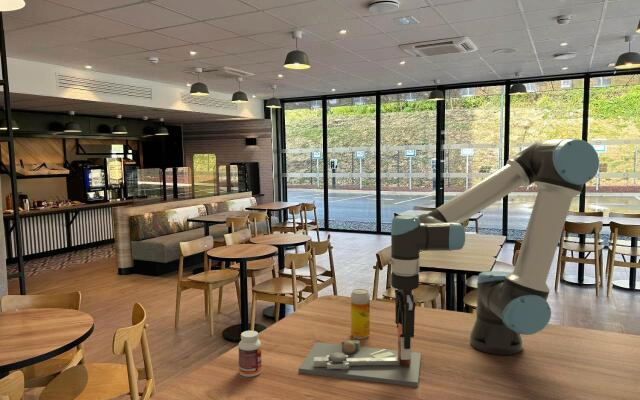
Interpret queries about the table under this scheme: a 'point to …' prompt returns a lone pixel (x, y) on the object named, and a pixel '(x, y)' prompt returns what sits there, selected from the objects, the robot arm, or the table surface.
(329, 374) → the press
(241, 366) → the pill bottle
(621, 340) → the table surface
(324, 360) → the lever
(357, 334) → the beer can
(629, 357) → the table surface
